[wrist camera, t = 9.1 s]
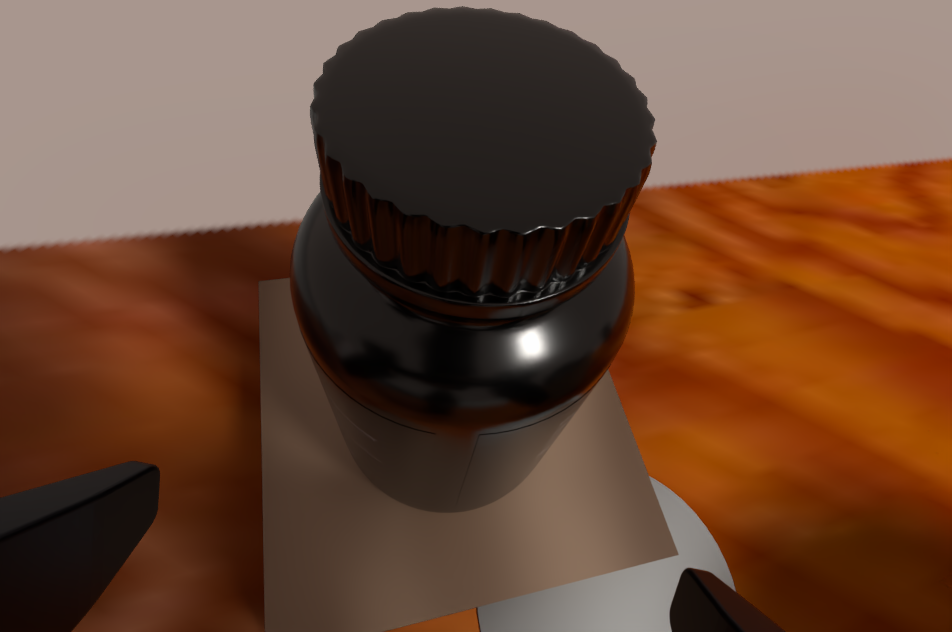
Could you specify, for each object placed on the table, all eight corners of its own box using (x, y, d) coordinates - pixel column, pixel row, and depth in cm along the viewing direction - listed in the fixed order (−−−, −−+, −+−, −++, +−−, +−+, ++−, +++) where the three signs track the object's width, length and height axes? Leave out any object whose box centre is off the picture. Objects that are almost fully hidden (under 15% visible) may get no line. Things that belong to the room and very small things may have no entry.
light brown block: (547, 281, 24) (561, 247, 21) (646, 562, 18) (678, 554, 16) (273, 316, 21) (258, 281, 19) (285, 656, 15) (265, 662, 13)
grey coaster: (769, 573, 19) (780, 572, 18) (660, 851, 14) (669, 860, 14) (566, 419, 21) (570, 414, 20) (419, 622, 17) (420, 622, 16)
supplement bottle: (483, 297, 20) (564, -56, 9) (584, 453, 17) (851, 196, 7) (309, 368, 17) (167, 4, 7) (392, 563, 15) (356, 424, 4)
